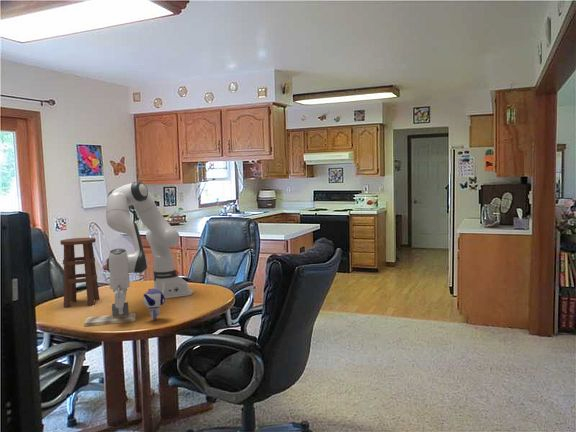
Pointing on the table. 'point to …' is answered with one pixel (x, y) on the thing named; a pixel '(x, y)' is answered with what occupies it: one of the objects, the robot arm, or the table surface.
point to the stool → (71, 276)
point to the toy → (153, 301)
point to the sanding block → (116, 312)
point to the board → (108, 320)
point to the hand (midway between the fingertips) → (121, 312)
